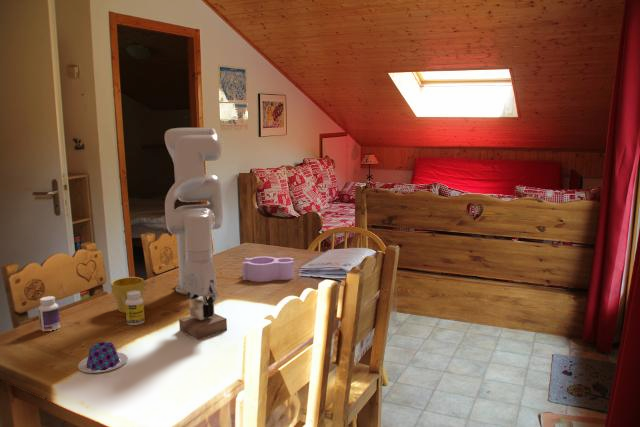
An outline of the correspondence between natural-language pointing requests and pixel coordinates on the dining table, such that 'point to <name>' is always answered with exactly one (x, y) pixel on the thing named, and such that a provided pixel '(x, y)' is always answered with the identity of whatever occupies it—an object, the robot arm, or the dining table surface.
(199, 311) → the maple block
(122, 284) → the plant pot
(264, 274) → the lavender double-well tray
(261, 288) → the dining table surface
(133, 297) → the supplement bottle
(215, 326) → the walnut block
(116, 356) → the purple patterned hat
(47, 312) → the pill bottle
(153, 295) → the dining table surface
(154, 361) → the dining table surface
